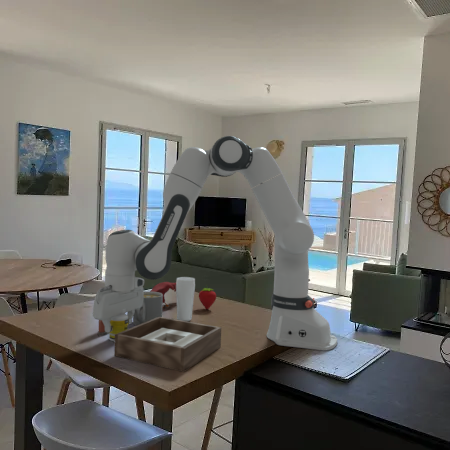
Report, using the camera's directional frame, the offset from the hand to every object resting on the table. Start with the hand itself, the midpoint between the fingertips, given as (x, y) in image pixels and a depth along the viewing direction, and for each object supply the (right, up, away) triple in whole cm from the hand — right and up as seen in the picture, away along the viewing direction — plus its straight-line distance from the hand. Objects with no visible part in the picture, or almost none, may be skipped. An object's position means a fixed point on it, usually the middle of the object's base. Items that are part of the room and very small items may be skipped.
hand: (118, 327), depth 139 cm
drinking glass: (+18, -3, +25) cm, 31 cm away
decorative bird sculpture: (+7, -2, +41) cm, 42 cm away
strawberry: (+25, -2, +41) cm, 49 cm away
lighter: (-6, -3, +7) cm, 10 cm away
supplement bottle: (0, -4, 0) cm, 4 cm away
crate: (+17, -5, -9) cm, 19 cm away
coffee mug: (+5, -3, +18) cm, 19 cm away
